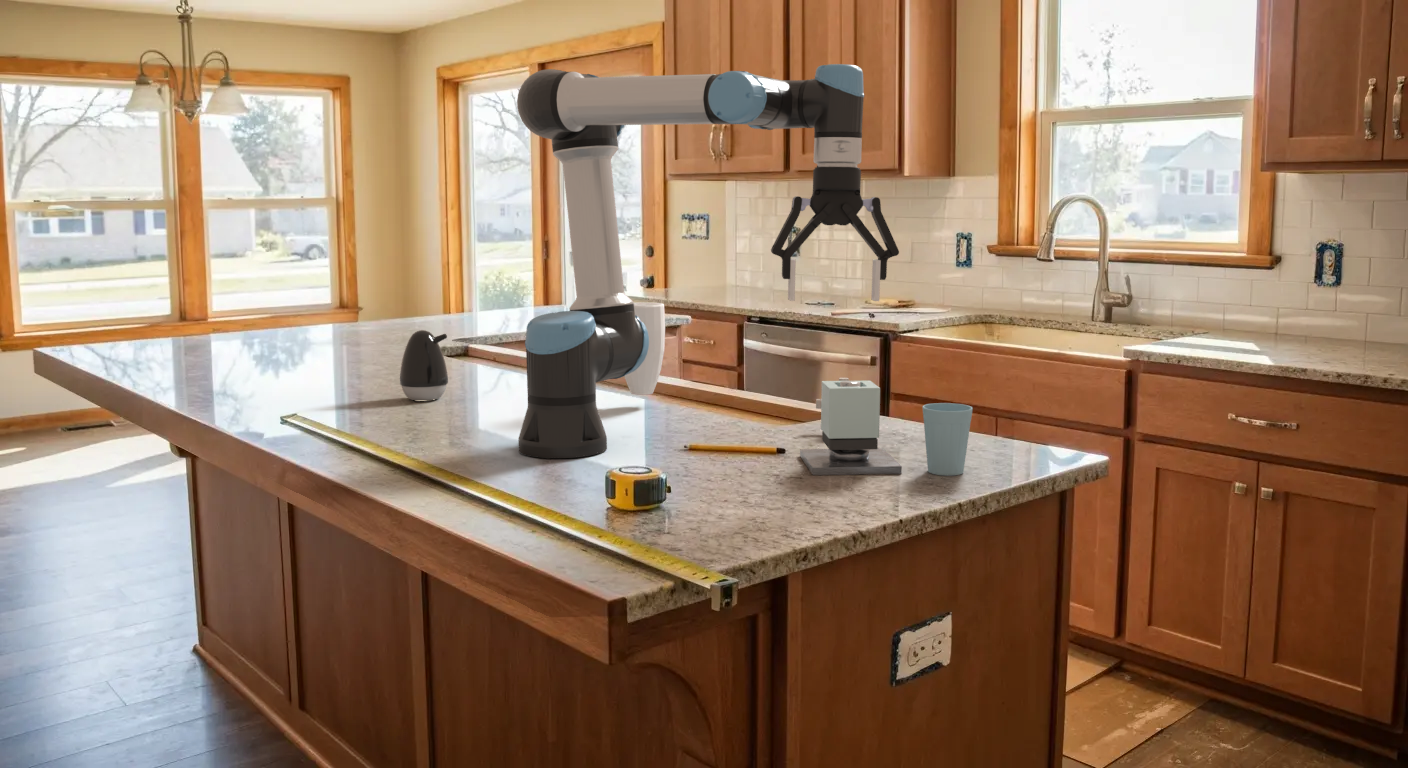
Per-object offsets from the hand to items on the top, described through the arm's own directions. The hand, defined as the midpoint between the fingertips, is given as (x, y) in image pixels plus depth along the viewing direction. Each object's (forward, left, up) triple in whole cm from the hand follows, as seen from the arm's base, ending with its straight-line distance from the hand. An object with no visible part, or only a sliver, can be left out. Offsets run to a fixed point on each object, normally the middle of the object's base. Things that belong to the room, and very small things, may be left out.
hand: (833, 300), depth 190 cm
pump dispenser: (-78, +68, -27) cm, 107 cm away
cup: (+17, -9, -27) cm, 33 cm away
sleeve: (+2, -3, -21) cm, 22 cm away
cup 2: (-31, +55, -27) cm, 69 cm away
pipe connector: (+6, +25, -27) cm, 37 cm away
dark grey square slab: (+2, -3, -22) cm, 23 cm away
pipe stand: (+2, -3, -27) cm, 27 cm away
